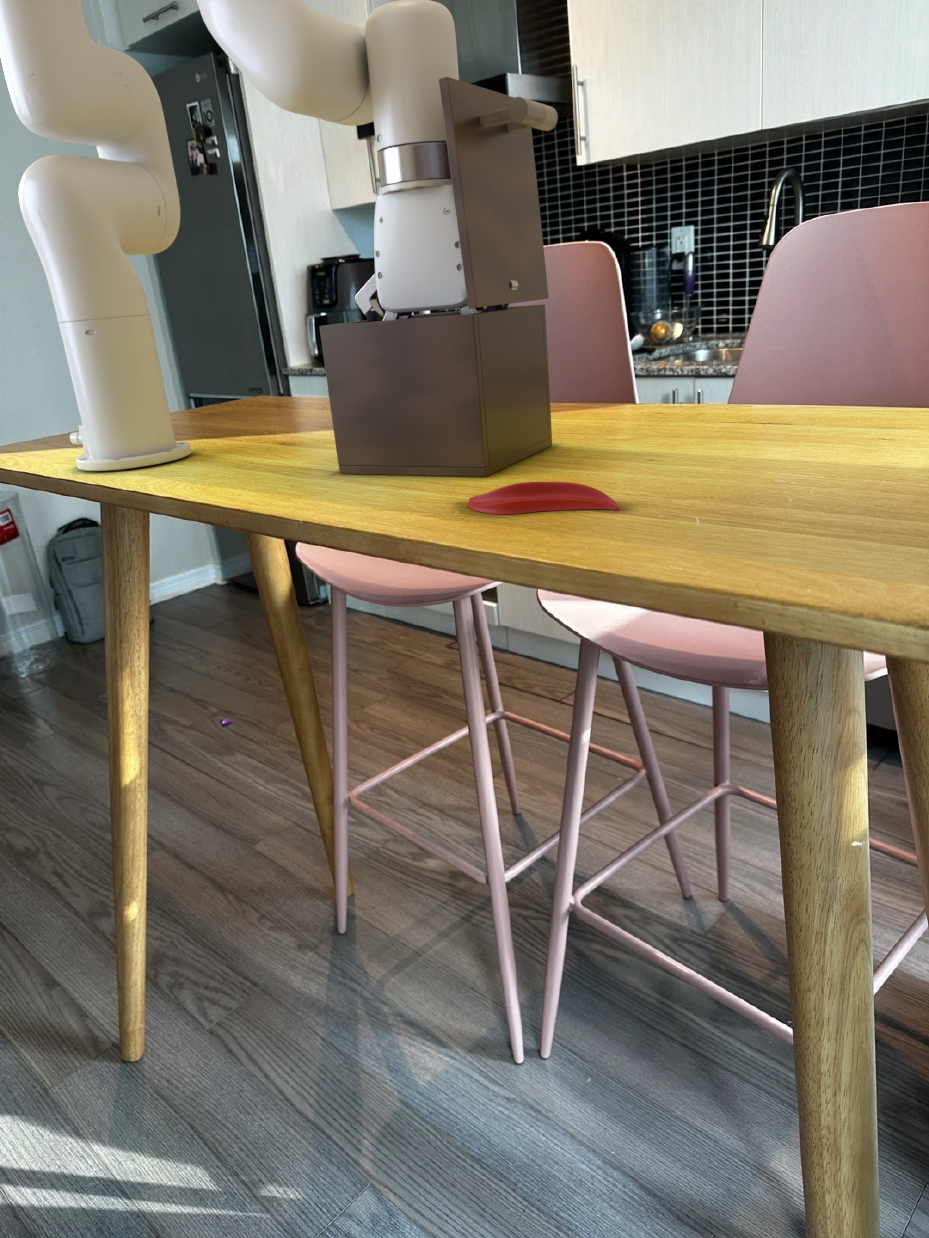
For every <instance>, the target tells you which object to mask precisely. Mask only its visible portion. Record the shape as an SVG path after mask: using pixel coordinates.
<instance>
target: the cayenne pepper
mask: <svg viewBox="0 0 929 1238" xmlns="http://www.w3.org/2000/svg"><path fill="white" fill-rule="evenodd" d="M467 507H468V508H470V509H471V510H472V511H473V510H474V511H477V512H480V513H483V514H484V513H485V514H489V515H490V514H491V515H516V514H527V513H537V512H549V511H550V512H551V511H568V510H569V511H570V510H571V511H572V510H573V511H574V510H612V511H620V507H619V505H618V503H617V501H615V500H614V499H613V498H612V497H610V496H609V495H607V494H606V493H605V492H603V491H602V490H599V489H597V488H594V487H592V486H589V485H585V484H581V483H577V482H568V481H527V482H517V483H513V484H512V483H511V484H508V485H505V486H502V487H499V488H496V489H494V490H490V491H488V492H484V493H482V494H478V495H474V496H472V497H469V498H468V502H467Z"/></svg>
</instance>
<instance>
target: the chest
mask: <svg viewBox="0 0 929 1238" xmlns="http://www.w3.org/2000/svg"><path fill="white" fill-rule="evenodd" d="M547 333H548V332H547V315H546V304H545V303H541V304H530V305H518V306H517V305H515V306H508V309H503V310H496V311H488V312H481V313H474V314H465V315H461V313H460V312H459V310H455V311H443V312H430V313H420V314H417V313H416V314H412V316H411V318H410V319H401V320H388V321H376V322H368V321H367V319H366V320H357V321H348V322H342V323H341V322H340V323H334V324H333V323H332V324H325V325H320V326H319V334H320V342H321V348H322V356H323V363H324V369H325V377H326V384H327V391H328V399H329V406H330V413H331V420H332V426H333V427H332V429H333V434H334V435H333V436H334V443H335V450H336V458H337V464H338V472H339V475H340V474H341V475H380V476H381V475H382V476H425V477H426V476H427V477H428V476H429V477H431V476H432V477H434V476H435V477H436V476H437V477H472V478H473V477H479V478H480V477H481V478H486V477H488V476H491V475H493V474H495V473H496V472H499V471H501V470H503V469H505V468H507V467H509V466H511V465H514V464H516V463H518V462H520V461H523V460H524V459H526V458H529V457H531V456H532V455H535V454H537V453H539V452H542V451H544V450H545V449H546V450H547V449H548V448H550V447H552V446H553V433H552V432H553V431H552V413H551V411H552V410H551V391H550V378H549V377H550V372H549V371H550V370H549V355H548V335H547Z"/></svg>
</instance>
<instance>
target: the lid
mask: <svg viewBox="0 0 929 1238" xmlns="http://www.w3.org/2000/svg"><path fill="white" fill-rule="evenodd" d="M439 86H440V94H441V102H442V109H443V117H444V125H445V132H446V140H447V148H448V155H449V163H450V171H451V178H452V186H453V194H454V201H455V209H456V217H457V224H458V232H459V240H460V248H461V255H462V263H463V271H464V278H465V286H466V294H467V301H468V308H469V309H471V308H479V307H487V306H495V305H503V304H509V305H510V304H518V303H525V302H532V301H541V300H548V299H549V298H550V297H549V288H548V287H549V286H548V277H547V276H548V275H547V268H546V267H547V266H546V258H545V257H546V256H545V249H544V248H545V247H544V240H543V239H544V238H543V228H542V219H541V208H540V199H539V190H538V179H537V168H536V160H535V150H534V141H533V132H532V129H535V130H540V131H544V132H550V131H551V130H553V129H554V128H555V127H556V125H557V123H558V120H559V115H558V111H557V109H555V108H554V107H553V106H550V105H547V104H544V103H541V102H537V101H536V100H535V101H534V100H531V99H529V98H525V97H522V96H515V97H513V96H510V95H508V94H504V93H501V92H499V91H495V90H491V89H488V88H485V87H482V86H478V85H476V84H472V83H469V82H467V81H466V82H465V81H463V80H460V79H459V80H456V79H453V78H450V77H445V78H441V79H439ZM513 280H516V281H517V282H518V289H517V290H511V284H510V281H513Z"/></svg>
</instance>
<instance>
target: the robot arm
mask: <svg viewBox="0 0 929 1238" xmlns="http://www.w3.org/2000/svg"><path fill="white" fill-rule="evenodd" d="M196 3H197V6H198V9H199V13H200V15H201V17H202V20H203V23H204V25H205V26H206V28H207V30H208V32H209V33H210V34H211V36H212V38H213V39H214V40H215V42H216V43H217V44H218V46H219V47H220V48H221V50H223V52H224V53H225V54H226V55H227V56H228V58H229V59H230V60H231V61H232V63H233V64H234V65H235V67H236V68H238V69H239V71H240V72H241V73H242V75H244V77H245V78H246V79H247V81H249V83H251V85H252V86H253V87H254V88H255V89H256V90H257V91H258V92H259V93H260V94H261V95H262V96H263V97H265V98H266V99H267V101H269V102H271V103H273V104H274V105H275V106H277V107H278V108H280V109H282V110H284V111H287V112H290V113H293V114H297V115H301V116H307V117H311V118H315V119H320V120H323V121H326V122H329V123H334V124H338V125H343V126H350V127H355V126H357V127H358V126H363V125H366V124H370V123H373V126H374V127H373V129H374V136H375V144H376V145H375V146H376V147H375V148H376V153H377V164H378V165H377V167H378V174H379V175H378V176H379V183H380V185H379V186H380V194H379V195H376V196H375V206H374V219H373V253H374V254H373V255H374V273H373V275H372V276H371V277H370V278H369V279H368V280H367V281H366V283H364V284H363V286H362V287H361V288H360V289H359V290H358V292H357V293H356V294H355V296H354V301H355V303H356V305H357V306H358V307H359V309H360V310H361V312H362V314H363V315H364V316H365V317H366V320H367V321H368V322H376V321H388V320H401V319H410V318H411V316H412V315H413V313H415V312H416V313H417V312H428V311H439V310H451V309H452V310H453V309H454V310H455V309H457V311H459V312H460V313H461V315H465V314H474V313H481V312H488V311H496V310H503V309H508V307H509V305H510V304H503V305H495V306H487V307H479V308H471V309H469V308H468V301H467V294H466V286H465V278H464V271H463V263H462V255H461V248H460V240H459V232H458V224H457V217H456V209H455V201H454V194H453V186H452V178H451V171H450V163H449V155H448V148H447V140H446V132H445V125H444V117H443V109H442V102H441V94H440V86H439V79H441V78H445V77H450V78H453V79H456V80H460V76H459V62H458V61H459V60H458V50H457V49H458V48H457V47H458V46H457V36H456V26H455V22H454V21H455V20H454V17H453V15H452V13H451V12H450V10H449V9H448V8H447V7H446V6H445V5H444V4H443V3H440V2H437V1H434V0H395V1H391V2H388V3H384V4H382V5H380V6H378V7H376V8H375V9H373V11H372V12H371V13H370V14H369V15H368V17H367V19H366V22H365V27H361V26H357V25H353V24H349V23H345V22H343V21H340V20H338V19H336V18H333V17H332V16H329V15H327V14H324V13H321V12H319V11H317V10H314V9H311V8H310V7H309V6H307V5H306V4H305V3H304V1H302V0H196ZM0 60H1V64H2V69H3V73H4V77H5V80H6V84H7V89H8V92H9V96H10V99H11V103H12V106H13V108H14V112H15V114H16V115H17V117H18V119H19V120H20V122H21V124H22V125H23V126H24V127H25V128H27V129H28V130H29V131H30V132H32V133H33V134H35V135H37V136H38V137H42V138H45V139H48V140H53V141H58V142H63V143H69V144H75V145H83V146H89V147H96V151H97V154H98V157H96V156H87V155H78V154H69V153H68V154H65V153H64V154H63V153H62V154H61V153H60V154H59V153H58V154H51V155H47V156H44V157H41V158H39V159H37V160H35V161H33V162H32V163H31V164H30V165H29V166H28V167H27V168H26V169H25V171H24V172H23V174H22V177H21V180H20V182H19V187H18V202H19V208H20V213H21V215H22V218H23V221H24V224H25V227H26V229H27V232H28V234H29V236H30V239H31V240H32V243H33V245H34V247H35V250H36V252H37V255H38V257H39V260H40V262H41V265H42V268H43V271H44V274H45V277H46V280H47V284H48V287H49V291H50V294H51V298H52V302H53V306H54V310H55V314H56V319H57V323H58V326H59V331H60V335H61V339H62V343H63V348H64V352H65V357H66V360H67V365H68V370H69V373H70V378H71V382H72V386H73V392H74V394H75V399H76V403H77V408H78V412H79V416H80V421H81V424H78V430H79V431H77V432H76V431H75V432H72V433H70V435H69V442H71V443H72V444H73V445H82V447H83V452H84V454H82V455H80V456H78V457H76V459H75V461H76V462H75V463H76V468H77V469H79V470H80V471H85V472H86V471H87V472H107V471H119V470H127V469H135V468H141V467H143V468H144V467H148V466H149V467H150V466H154V465H159V464H163V463H168V462H172V461H176V460H179V459H183V458H185V457H188V456H189V455H191V453H192V448H191V443H190V442H186V441H178V440H177V441H176V437H175V433H174V426H173V422H172V418H171V412H170V407H169V401H168V397H167V392H166V388H165V381H164V377H163V371H162V368H161V363H160V357H159V352H158V347H157V342H156V337H155V332H154V328H153V322H152V317H151V312H150V307H149V303H148V298H147V295H146V292H145V288H144V287H143V286H144V285H142V282H141V280H140V278H139V276H138V273H137V272H136V270H135V269H134V267H133V265H132V264H131V262H130V260H129V258H128V257H127V256H148V255H156V254H159V253H161V252H164V251H165V250H167V249H169V247H170V246H172V244H173V243H174V241H175V240H176V238H177V236H178V232H179V229H180V225H181V203H180V195H179V189H178V184H177V178H176V173H175V167H174V161H173V157H172V151H171V146H170V141H169V135H168V131H167V125H166V120H165V115H164V114H165V113H164V110H163V105H162V102H161V98H160V96H159V93H158V90H157V88H156V86H155V84H154V82H153V80H152V78H151V77H150V75H149V73H148V71H146V68H144V66H142V65H141V64H140V63H139V62H138V61H137V60H136V59H135V58H133V56H130V55H129V54H127V53H125V52H124V51H123V52H122V51H121V50H117V49H115V48H112V47H107V46H104V45H100V44H97V43H95V42H94V41H93V40H92V38H91V36H90V33H89V31H88V27H87V24H86V19H85V17H84V12H83V8H82V1H81V0H0ZM510 284H511V290H517V289H518V282H517V281H516V280H513V281H510ZM378 302H379V303H378ZM380 306H381V307H380ZM381 308H382V309H381Z"/></svg>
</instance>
